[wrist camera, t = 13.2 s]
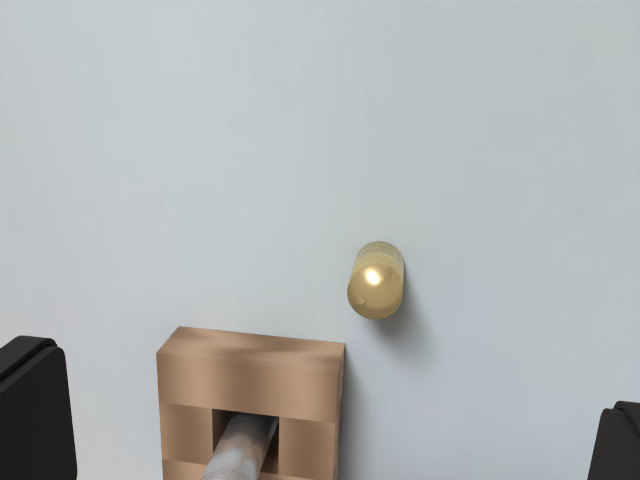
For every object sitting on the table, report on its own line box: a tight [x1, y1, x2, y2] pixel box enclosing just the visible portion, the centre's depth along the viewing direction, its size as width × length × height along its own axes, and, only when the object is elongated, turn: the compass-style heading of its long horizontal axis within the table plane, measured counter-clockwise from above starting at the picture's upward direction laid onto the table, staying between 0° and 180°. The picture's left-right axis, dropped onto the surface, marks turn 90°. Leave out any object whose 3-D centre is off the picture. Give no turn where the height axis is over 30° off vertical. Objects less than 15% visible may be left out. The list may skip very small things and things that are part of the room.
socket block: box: [156, 326, 345, 480], centre depth 42 cm, size 12×12×4 cm
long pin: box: [200, 411, 279, 480], centre depth 38 cm, size 3×3×12 cm
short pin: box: [347, 241, 404, 319], centre depth 37 cm, size 3×3×5 cm
